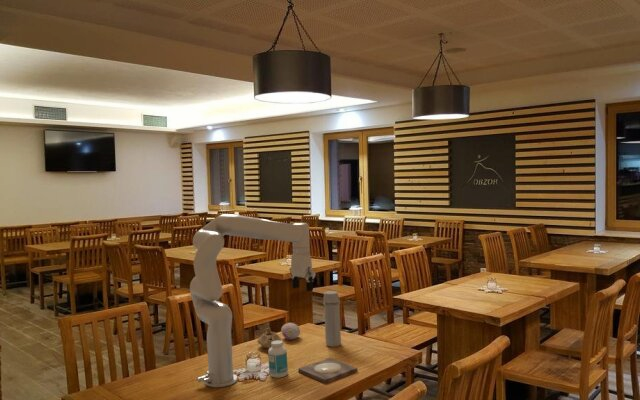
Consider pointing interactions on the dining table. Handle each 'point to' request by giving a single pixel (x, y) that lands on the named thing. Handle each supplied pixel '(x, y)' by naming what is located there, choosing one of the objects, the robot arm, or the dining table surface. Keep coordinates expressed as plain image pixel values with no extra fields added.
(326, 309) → the water bottle
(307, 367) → the serving board
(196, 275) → the robot arm
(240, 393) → the dining table surface
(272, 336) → the oil lamp
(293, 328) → the decorative item
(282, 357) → the pill bottle
